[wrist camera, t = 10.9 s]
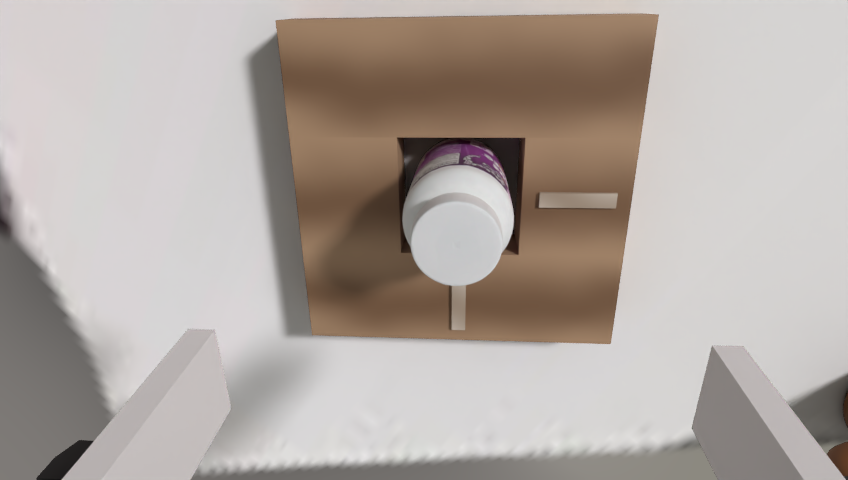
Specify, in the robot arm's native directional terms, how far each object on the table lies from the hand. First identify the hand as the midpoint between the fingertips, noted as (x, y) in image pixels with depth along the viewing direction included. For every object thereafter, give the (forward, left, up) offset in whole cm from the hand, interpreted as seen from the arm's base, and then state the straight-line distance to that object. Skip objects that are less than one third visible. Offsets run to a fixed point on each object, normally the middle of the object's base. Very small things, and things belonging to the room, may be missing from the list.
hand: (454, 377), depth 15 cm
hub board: (0, 0, -19) cm, 19 cm away
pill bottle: (0, 0, -19) cm, 19 cm away
